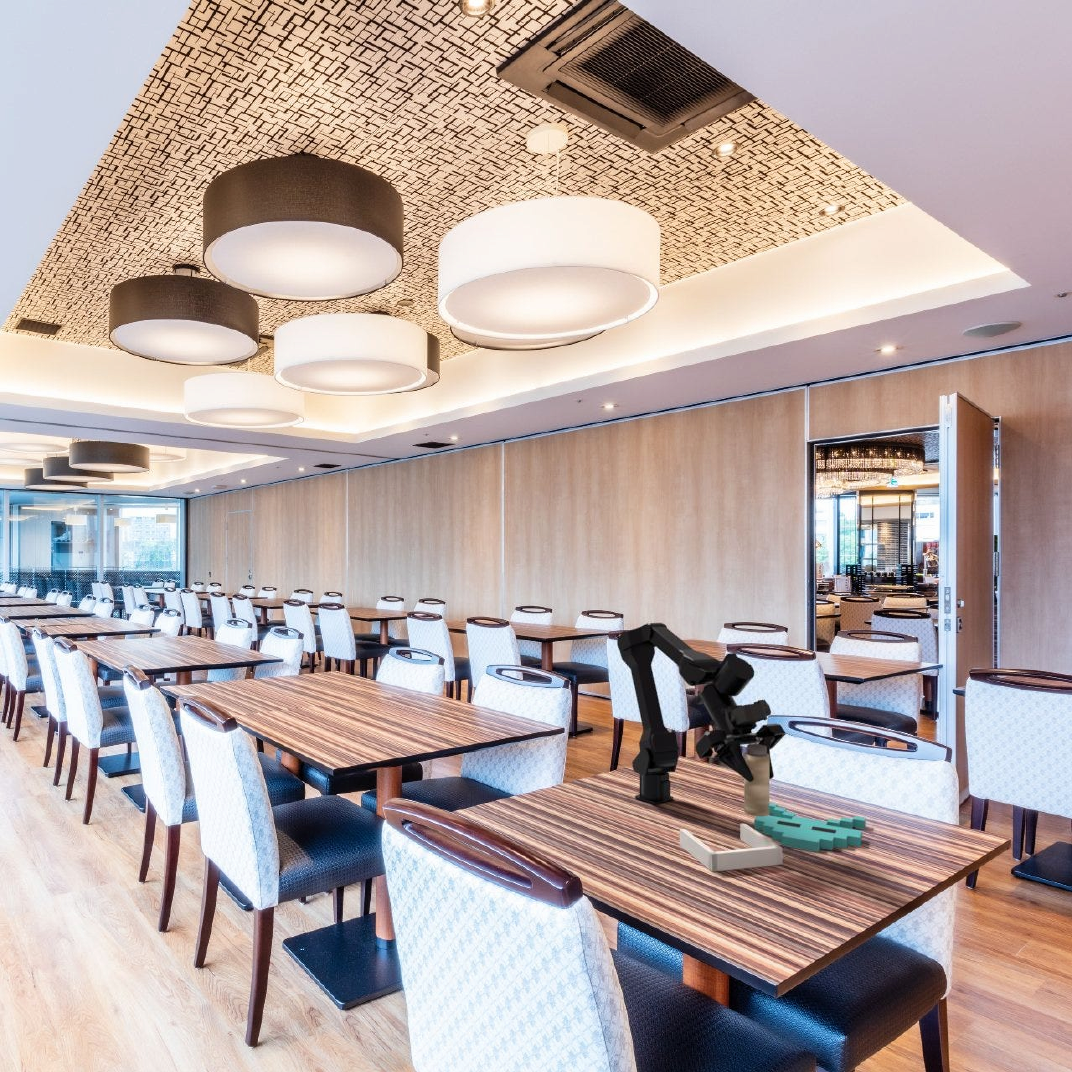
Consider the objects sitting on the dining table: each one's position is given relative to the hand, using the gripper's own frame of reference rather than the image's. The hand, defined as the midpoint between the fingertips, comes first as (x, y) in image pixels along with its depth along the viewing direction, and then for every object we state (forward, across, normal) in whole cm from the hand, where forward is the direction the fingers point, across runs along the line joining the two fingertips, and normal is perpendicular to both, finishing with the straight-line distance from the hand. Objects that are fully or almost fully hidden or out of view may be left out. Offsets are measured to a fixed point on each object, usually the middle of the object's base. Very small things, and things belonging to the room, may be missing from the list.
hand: (761, 779), depth 144 cm
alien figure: (+7, +16, +13) cm, 22 cm away
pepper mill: (+4, 0, +6) cm, 7 cm away
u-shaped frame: (+8, -6, +11) cm, 15 cm away
